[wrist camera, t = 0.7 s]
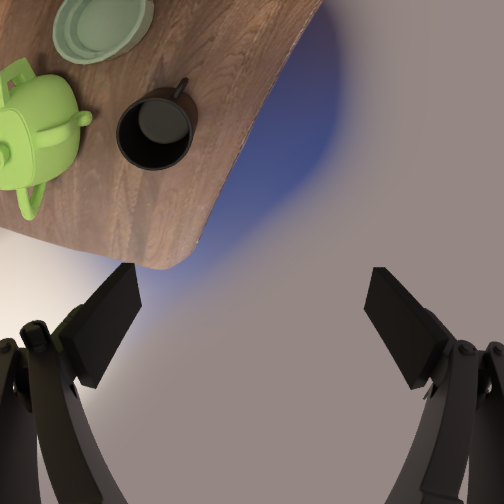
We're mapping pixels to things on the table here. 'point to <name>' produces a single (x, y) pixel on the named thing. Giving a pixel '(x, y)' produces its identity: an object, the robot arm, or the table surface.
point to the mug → (158, 128)
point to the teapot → (36, 132)
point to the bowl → (100, 28)
